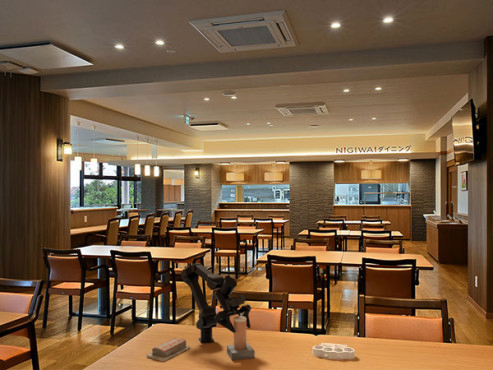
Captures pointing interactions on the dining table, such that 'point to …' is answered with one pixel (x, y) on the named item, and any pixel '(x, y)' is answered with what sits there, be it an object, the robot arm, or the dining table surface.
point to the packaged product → (168, 349)
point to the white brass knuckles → (334, 351)
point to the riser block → (240, 352)
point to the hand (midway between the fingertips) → (242, 330)
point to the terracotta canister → (240, 333)
